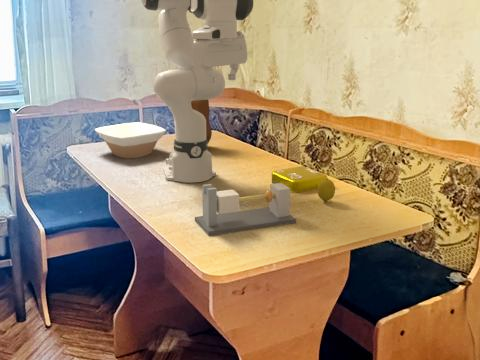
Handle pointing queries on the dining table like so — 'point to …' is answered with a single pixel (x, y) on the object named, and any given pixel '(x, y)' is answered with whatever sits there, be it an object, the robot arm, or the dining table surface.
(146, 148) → the bowl
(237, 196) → the sleeve
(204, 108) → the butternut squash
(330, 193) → the lemon
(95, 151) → the dining table surface
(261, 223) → the cord rig
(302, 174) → the element tile
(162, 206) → the dining table surface
